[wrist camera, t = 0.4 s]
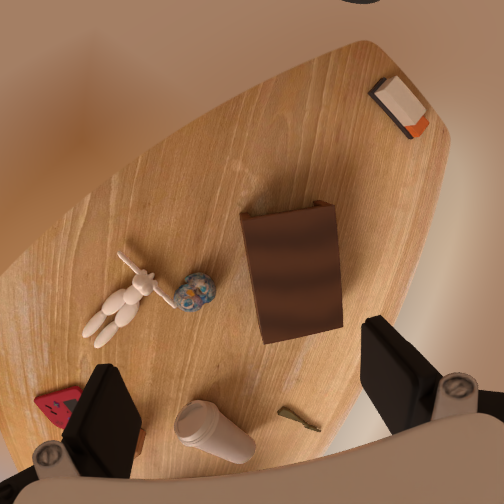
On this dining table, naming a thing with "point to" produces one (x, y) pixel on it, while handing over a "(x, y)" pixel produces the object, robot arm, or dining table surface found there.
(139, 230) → the dining table surface
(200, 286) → the decorative stone
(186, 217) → the dining table surface
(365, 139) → the dining table surface
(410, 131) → the tricolour layered block
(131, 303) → the decorative figure
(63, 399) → the handheld gaming console
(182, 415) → the coffee cup
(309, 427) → the olive tapered flat bar
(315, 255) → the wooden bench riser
